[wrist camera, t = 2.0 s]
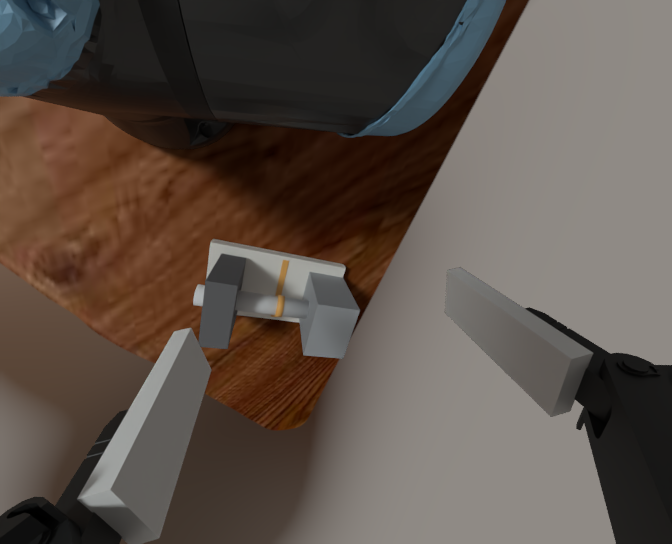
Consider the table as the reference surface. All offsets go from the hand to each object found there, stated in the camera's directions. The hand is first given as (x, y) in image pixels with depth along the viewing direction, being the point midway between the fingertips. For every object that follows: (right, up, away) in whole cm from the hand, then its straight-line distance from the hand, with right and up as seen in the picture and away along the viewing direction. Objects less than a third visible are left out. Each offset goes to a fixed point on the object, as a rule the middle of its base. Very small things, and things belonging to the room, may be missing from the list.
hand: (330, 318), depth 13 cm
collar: (-14, +1, +21) cm, 25 cm away
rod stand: (-8, +1, +25) cm, 26 cm away
